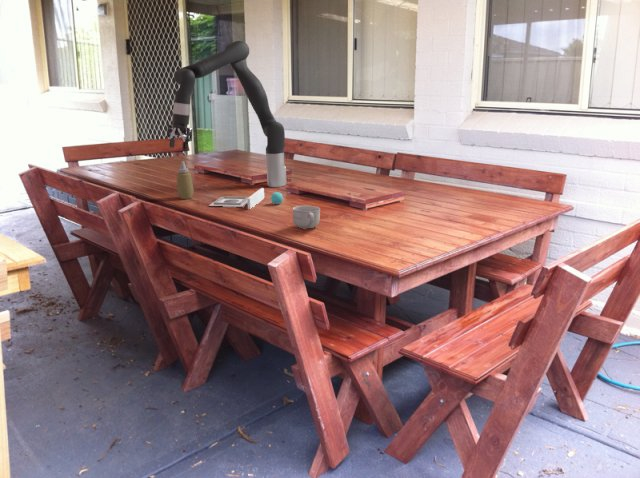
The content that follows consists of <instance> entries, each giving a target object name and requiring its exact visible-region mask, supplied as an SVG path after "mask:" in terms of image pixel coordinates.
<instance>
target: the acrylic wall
mask: <svg viewBox="0 0 640 478" xmlns="http://www.w3.org/2000/svg"><path fill="white" fill-rule="evenodd" d="M248 197H249V198H247V201H248V204H247V210H249V209H251V208H252V207H253V208H255V205H256V204H257V205H259V203H260V202H262V201H263V200H264V199H265V188H264V187H261V188H259V189H258V190H257V191H255V192H254V193H253V194H251V195H250V196H248ZM257 205H256V206H257ZM253 208H252V209H253ZM252 209H251V210H252Z"/></svg>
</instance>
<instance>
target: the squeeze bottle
mask: <svg viewBox="0 0 640 478" xmlns="http://www.w3.org/2000/svg"><path fill="white" fill-rule="evenodd" d="M194 190H195V189H194V184H193V180H192V174H191V173H190V172H189V168H188V167H186V164H185V161H184V160H181V163H180V168H179V169H178V173H176V193H177V195H178V197H179V199H180V198H181V200H189V199H192V198H193V195H194V192H195V191H194Z"/></svg>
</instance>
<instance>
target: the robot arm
mask: <svg viewBox="0 0 640 478" xmlns="http://www.w3.org/2000/svg"><path fill="white" fill-rule="evenodd" d="M249 55H250V47H249V45H248V43H246V42H245V41H243V40H236V41H233V42H230V43H228V44H227V45H225V48H224V50H223V51H221V52H218V53H216V54H213V55H211V56H207V57H205V58H203V59H201V60H198V61H196V62H195V63H193V64H189V65H186V66H184V67H181V68H179V69H177V70H175V72H174V73H173V74H174V75H173V79H174V82H176V83H177V84H178V85H179V89H178V90H176V91H175V94H174V102H173V103H174V104H173V108H172V110H173V111H172V118H171V119H172V120H171V122H172V124H168V125H167V131H166V137H167V138H168V139H169V148H171V149H175V144H176V143H175V142H176V140H175V139H176V137H180V138H182V141H183V142H182V150H183V151H187V150H188V148H189V147H188V146H189V142H192V141H193V127H188V125H190V116H191V115H190V114H191V96H192V93H193V90H194V87H195V83H196V79H201V78H204V77H206V76H208V75H211V73H214V72H215V71H217V70H219V69H221V68H224V67H225V66H227V65H230V66H231V67H232V69H233V71H234V72H235V74H236V76H237V79H238V80H239V83H240V84H241V86H242V88H243V91H244V93H245V95H246V98H247V99H248V101H249V103H250V105H251V107H252V108H253V111H254V113H255V114H256V116H257V118H258V121H259V124H260V126H261V129H262V132H263V134H264V136H265V138H267V140H266V143H267V145H266V147H265V157H266V158H265V160H266V161H265V162H266V175H267V176H266V178H267V179H266V180H267V181H266V182H267V183H266V184H267V186H268V187H271V188H280V187H284V186H286V185H287V183H288V182H287V167H286V166H285V147H286V146H285V144H286V141H285V140H286V139H285V137H286V135H285V128H284V125H283V123H281V122H280V121H277V120H276V119H275V117H274V115H273V114H272V111H271V109H270V104H269V100H268V96H267V93H266V90H265V89H264V86H263V84H262V82H261V81H260V79H259V78H258V77H257V76H256V75H255V74H254V72H252V71H251V69H250V68H249V67H248V65H247V63H246V61H245V60H246V59H247V58H248V57H249Z"/></svg>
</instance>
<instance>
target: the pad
mask: <svg viewBox="0 0 640 478" xmlns="http://www.w3.org/2000/svg"><path fill="white" fill-rule="evenodd" d="M249 197H250V196H231V195H230V196H229V195H228V196H227V195H226V196H221V197H219V198H217V199H216V200H215V201H213V202H211V203H210V204H208V207H209V206H223V207H222V208H236V207H243V208H244V207H245V205H246V204H247V205H248V201H247V198H249ZM247 205H246V206H247Z"/></svg>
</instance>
